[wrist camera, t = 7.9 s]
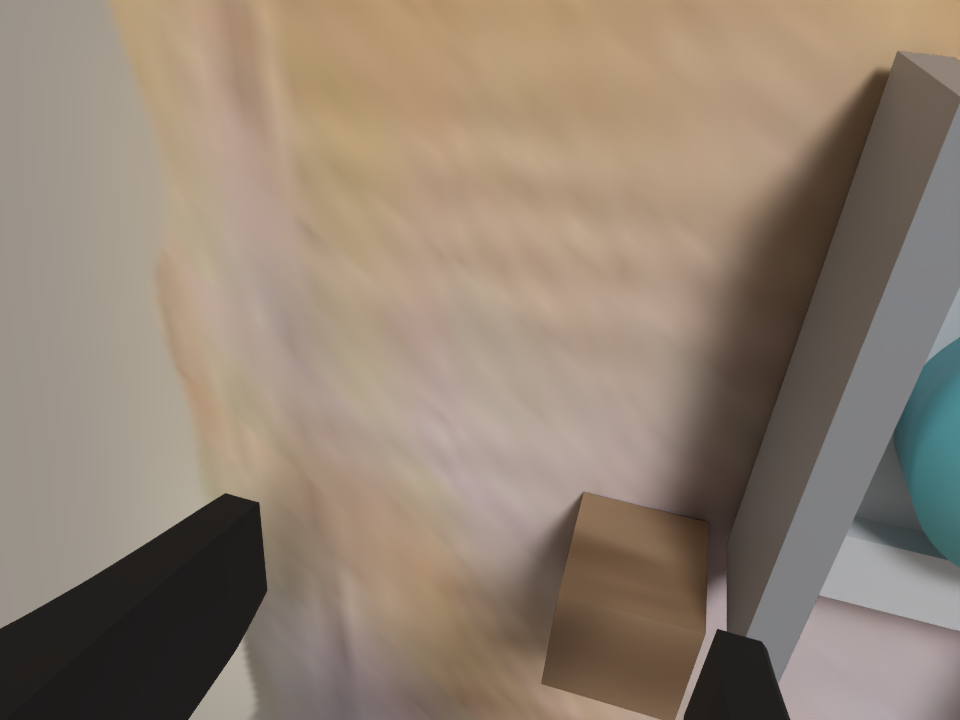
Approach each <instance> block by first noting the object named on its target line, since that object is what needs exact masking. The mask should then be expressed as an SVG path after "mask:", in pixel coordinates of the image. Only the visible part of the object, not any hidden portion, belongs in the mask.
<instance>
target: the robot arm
mask: <svg viewBox="0 0 960 720" xmlns="http://www.w3.org/2000/svg"><path fill="white" fill-rule="evenodd" d="M266 592H267V581H266V570H265V560H264V549H263V538H262V528H261V517H260V506H259V502H255V501H251V500H248V499H244V498H240V497H237V496H233V495H230V494H226V493H225V494H223V495H222V496H220V497H219V498H217V499H215V500H214V501H212V502H211V503H209V504H207V505H206V506H204V507H203V508H201V509H199V510H198V511H196V512H195V513H193V514H192V515H190V516H188V517H187V518H185V519H184V520H183V521H181V522H179V523H178V524H176V525H175V526H173V527H171V528H170V529H168V530H167V531H165V532H164V533H162V534H161V535H159V536H157V537H156V538H154V539H153V540H151V541H150V542H148V543H146V544H145V545H143V546H142V547H140V548H139V549H137V550H135V551H134V552H132V553H131V554H129V555H127V556H126V557H124V558H122V559H121V560H119V561H118V562H116V563H114V564H113V565H111V566H109V567H108V568H106V569H105V570H103V571H102V572H100V573H98V574H97V575H95V576H93V577H92V578H90V579H88V580H87V581H85V582H83V583H82V584H80V585H78V586H77V587H75V588H73V589H71V590H69V591H68V592H66V593H64V594H63V595H61V596H59V597H57V598H55V599H54V600H52V601H50V602H49V603H47V604H45V605H43V606H42V607H39V608H38V609H36V610H34V611H33V612H31V613H29V614H27V615H25V616H23V617H22V618H20V619H18V620H16V621H14V622H12V623H10V624H8V625H6V626H5V627H3V628H1V629H0V720H188V719H189V718H190V716H191V715H192V713H193V712H194V710H195V709H196V708H197V706H198V705H199V703H200V702H201V700H202V699H203V698H204V696H205V695H206V693H207V691H208V690H209V689H210V687H211V686H212V684H213V683H214V682H215V680H216V679H217V677H218V676H219V674H220V673H221V671H222V670H223V668H224V667H225V665H226V664H227V663H228V661H229V660H230V658H231V656H232V655H233V654H234V652H235V651H236V649H237V647H238V646H239V644H240V642H241V640H242V638H243V636H244V635H245V633H246V631H247V629H248V627H249V625H250V624H251V622H252V620H253V618H254V616H255V614H256V612H257V610H258V608H259V606H260V604H261V602H262V600H263V598H264V596H265V594H266ZM684 720H790V718H789V715H788V712H787V709H786V706H785V704H784V701H783V698H782V695H781V692H780V689H779V686H778V683H777V680H776V676H775V673H774V670H773V667H772V664H771V660H770V657H769V654H768V650H767V648H766V647H765V645H764V644H763V642H762V641H759V640H755V639H752V638H748V637H745V636H741V635H737V634H734V633H730V632H726V631H723V630H719V629H717V631H716V634H715V636H714V639H713V642H712V644H711V647H710V649H709V652H708V655H707V657H706V660H705V662H704V665H703V668H702V670H701V673H700V675H699V678H698V681H697V683H696V686H695V688H694V691H693V694H692V696H691V699H690V701H689V704H688V707H687V709H686V712H685V714H684Z"/></svg>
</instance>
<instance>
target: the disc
mask: <svg viewBox="0 0 960 720" xmlns="http://www.w3.org/2000/svg"><path fill="white" fill-rule="evenodd" d="M894 444H895V449H896V453H897V457H898V460H899V463H900V466H901V470H902V473H903V476H904V479H905V482H906V485H907V488H908V491H909V494H910V497H911V500H912V503H913V506H914V509H915V512H916V515H917V518H918V520H919V522H920V525H921V527H922V529H923V531H924V532H925V534H926V535H927V537H928V538H929V540H930V541H931V543H932V544H933V545H934V546H935V547H936V548H937V549H938V550H939V552H940V553H941V554H943V555H944V556H945V557H946V558H947V559H948V560H950V561H951V562H952V563H953V564H955V565H956V566H958V567H959V568H960V337H959V338H957V339H956V340H955V341H953V342H952V343H950V344H949V345H947V346H946V347H944V348H943V349H942V350H940V351H939V352H938V353H937V354H936V355H935V356H933V357H932V358H931V359H930V360H929V361H928V362H927V363H926V364H925V365H924V366H923V369H922V371H921V373H920V375H919V377H918V380H917V382H916V384H915V386H914V388H913V390H912V393H911V395H910V397H909V399H908V401H907V404H906V406H905V408H904V410H903V412H902V414H901V417H900V419H899V421H898V423H897V425H896V428H895V430H894Z"/></svg>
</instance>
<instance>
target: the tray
mask: <svg viewBox="0 0 960 720" xmlns="http://www.w3.org/2000/svg"><path fill="white" fill-rule="evenodd" d="M959 337H960V60H958V59H957V58H955V57H946V56H938V55H929V54H921V53H912V52H904V51H897V54H896V57H895V60H894V62H893V65H892V68H891V71H890V74H889V77H888V80H887V83H886V86H885V88H884V91H883V94H882V97H881V100H880V103H879V106H878V109H877V112H876V114H875V117H874V120H873V123H872V126H871V129H870V132H869V135H868V138H867V140H866V143H865V146H864V149H863V152H862V155H861V158H860V161H859V164H858V167H857V169H856V172H855V175H854V178H853V181H852V184H851V187H850V190H849V193H848V195H847V198H846V201H845V204H844V207H843V210H842V213H841V216H840V219H839V221H838V224H837V227H836V230H835V233H834V236H833V239H832V242H831V245H830V247H829V250H828V253H827V256H826V259H825V262H824V265H823V268H822V271H821V274H820V276H819V279H818V282H817V285H816V288H815V291H814V294H813V297H812V300H811V302H810V305H809V308H808V311H807V314H806V317H805V320H804V323H803V326H802V328H801V331H800V334H799V337H798V340H797V343H796V346H795V349H794V352H793V354H792V357H791V360H790V363H789V366H788V369H787V372H786V375H785V378H784V380H783V383H782V386H781V389H780V392H779V395H778V398H777V401H776V404H775V407H774V409H773V412H772V415H771V418H770V421H769V424H768V427H767V430H766V433H765V435H764V438H763V441H762V444H761V447H760V450H759V453H758V456H757V459H756V461H755V464H754V467H753V470H752V473H751V476H750V479H749V482H748V485H747V487H746V490H745V493H744V496H743V499H742V502H741V505H740V508H739V511H738V514H737V516H736V519H735V522H734V525H733V528H732V531H731V534H730V537H729V540H728V542H727V632H730V633H734V634H737V635H741V636H745V637H748V638H752V639H755V640H759V641H762V642H763V644H764V645H765V647H766V648H767V650H768V654H769V657H770V660H771V664H772V667H773V670H774V673H775V676H776V680H777V683H779V681H780V679H781V677H782V674H783V672H784V670H785V668H786V666H787V663H788V661H789V659H790V657H791V655H792V653H793V650H794V648H795V646H796V644H797V642H798V639H799V637H800V635H801V633H802V631H803V629H804V626H805V624H806V622H807V620H808V618H809V615H810V613H811V611H812V609H813V607H814V604H815V602H816V600H817V598H818V596H819V595H820V596H824V597H828V598H832V599H836V600H839V601H843V602H847V603H851V604H855V605H859V606H863V607H867V608H871V609H875V610H879V611H883V612H887V613H891V614H894V615H898V616H902V617H906V618H910V619H914V620H918V621H922V622H926V623H930V624H934V625H938V626H942V627H945V628H949V629H953V630H957V631H960V568H959V567H958V566H956V565H955V564H953V563H952V562H951V561H950V560H948V559H947V558H946V557H945V556H944V555H943V554H941V553H940V552H939V550H938V549H937V548H936V547H935V546H934V545H933V544H932V543H931V541H930V540H929V538H928V537H927V535H926V534H925V532H924V531H923V529H922V527H921V525H920V522H919V520H918V518H917V515H916V512H915V509H914V506H913V503H912V500H911V497H910V494H909V491H908V488H907V485H906V482H905V479H904V476H903V473H902V470H901V466H900V463H899V460H898V457H897V453H896V449H895V444H894V430H895V428H896V425H897V423H898V421H899V419H900V417H901V414H902V412H903V410H904V408H905V406H906V404H907V401H908V399H909V397H910V395H911V393H912V390H913V388H914V386H915V384H916V382H917V380H918V377H919V375H920V373H921V371H922V369H923V366H924V365H925V364H926V363H927V362H928V361H929V360H930V359H931V358H932V357H933V356H935V355H936V354H937V353H938V352H939V351H940V350H942V349H943V348H944V347H946V346H947V345H949V344H950V343H952V342H953V341H955V340H956V339H957V338H959Z"/></svg>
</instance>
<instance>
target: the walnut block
mask: <svg viewBox="0 0 960 720" xmlns="http://www.w3.org/2000/svg"><path fill="white" fill-rule="evenodd" d="M707 560H708V522H704V521H700V520H696V519H692V518H688V517H684V516H680V515H676V514H671V513H667V512H663V511H659V510H655V509H651V508H647V507H643V506H639V505H634V504H630V503H626V502H622V501H618V500H614V499H610V498H606V497H602V496H597V495H593V494H589V493H585V492H584V493H583V497H582V501H581V505H580V509H579V513H578V517H577V521H576V525H575V529H574V533H573V537H572V541H571V545H570V549H569V553H568V557H567V561H566V565H565V569H564V573H563V577H562V581H561V585H560V590H559V594H558V599H557V604H556V609H555V614H554V620H553V625H552V630H551V635H550V641H549V646H548V651H547V656H546V661H545V667H544V672H543V677H542V682H541V684H544V685H547V686H550V687H554V688H557V689H561V690H564V691H567V692H571V693H574V694H577V695H581V696H584V697H587V698H591V699H594V700H598V701H601V702H604V703H608V704H611V705H614V706H618V707H621V708H624V709H628V710H631V711H635V712H638V713H641V714H645V715H648V716H651V717H655V718H658V719H661V720H675V718H676V715H677V713H678V710H679V707H680V704H681V701H682V699H683V696H684V693H685V690H686V687H687V684H688V682H689V679H690V676H691V673H692V670H693V668H694V665H695V662H696V659H697V656H698V654H699V651H700V648H701V645H702V642H703V640H704V637H705V634H706V598H707Z"/></svg>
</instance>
